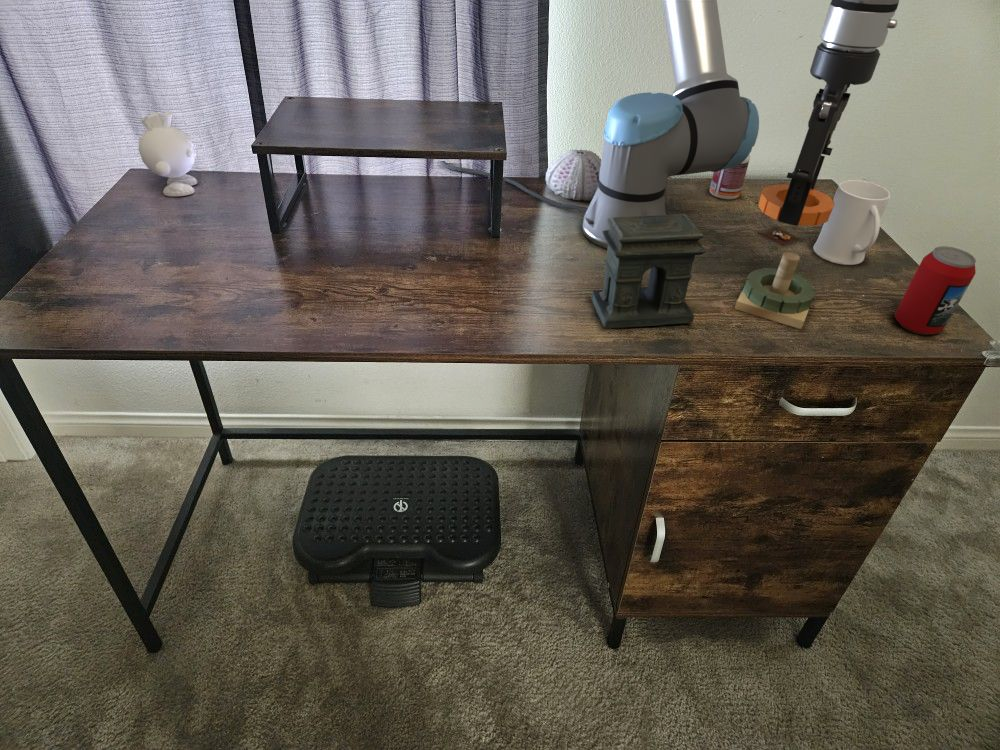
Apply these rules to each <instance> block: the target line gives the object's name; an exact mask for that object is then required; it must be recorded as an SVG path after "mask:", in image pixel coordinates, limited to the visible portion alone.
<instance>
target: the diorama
mask: <svg viewBox="0 0 1000 750" xmlns="http://www.w3.org/2000/svg"><path fill="white" fill-rule="evenodd" d="M761 235H762V236H764V237H766V238H768V239H770V240H772V241H773V242H775V243H777V244H779V245H781V246H786V245H789V244H791V243H794V242H797V241H799V240H800V239H799V238H797V237H795V236H793V235H791V234H789V233H787V232H785V231H784V230H781V227H777V228H775V229H772V230H769V231H766V232H763V233H761Z"/></svg>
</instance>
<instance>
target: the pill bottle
mask: <svg viewBox="0 0 1000 750" xmlns="http://www.w3.org/2000/svg"><path fill="white" fill-rule="evenodd" d="M750 160H751V155H750V154H749V156H748V157H747V158H746V159H745V160H744V161H743V162H742V163H741V164H739V165H738V166H736V167H733V168H729V169H724V170H720V171H718V172H712V178H711V181H710V186H709V193H710V194H711V196H713V197H715V198H717V199H722V200H736V199H737V198H739V197H740V195H741V193H742V190H743V187H744V186H743V185H744V183H745V178H746V175H747V171H748V167H749V163H750Z"/></svg>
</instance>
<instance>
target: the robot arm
mask: <svg viewBox="0 0 1000 750" xmlns="http://www.w3.org/2000/svg"><path fill="white" fill-rule="evenodd" d="M899 4H900V0H831V1H830V3H829V5H828V9H827V12H826V15H825V19H824V22H823V26H822V29H821V32H820V35H819V37H820V39H821V41H822V42H821V43H819V44H818V45H817V47H816V50H815V53H814V56H813V59H812V62H811V65H810V69H809V73H810V75H811V76H812V77H813V78H814V79H817V80H821V81H824V82H825V83H826V84H825V85H824V88H819V90H818V92H816V94H815V97H814V100H813V103H812V107H813V109H812V111H811V114H810V116H809V119H808V121H807V122H808V123H807V127H808V129H807V132H806V135H805V137H804V141H803V143H802V146H801V148H800V152H799V154H798V156H797V159H796V160H797V161H796V162H795V167H794V169H793V171H791V172H789V171H788V172H787V175H786V179H790V182H789V184H790V185H789V188H788V191H787V194H786V197H785V200H784V204H783V207H782V210H781V213H780V216H779V219H778V220H777V222H778V223H781V224H787V225H791V226H795V227H798V226H799V225H798V223H799V220H800V217H801V214H802V212H803V209H804V207H806V206H805V203H806V200H807V197H808V194H809V191H810V189H811V190H813V189H815V186H816V183H817V181H818V178H819V175H820V172H821V169H822V167H823V163H824V161H825V158H826V156H829V157H830V156H831V154H832V151H833V149H834V148H831V147H829V145H831V143H832V140H831V139H832V136H833V134H834V132H835V130H836V128H837V125H838V122H839V121H840V120H841V117H842V115H843V112H844V111H845V110H846V108H847V106H848V102H849V100H850V97H851V93H850V92H848V89H849V88H850V87H851V85H853V86H856V85H857V86H858V85H859V86H860V85H865V84H867V83H869V82H870V81H871V80H872V78H873V76H874V73H875V71H876V68H877V65H878V62H879V59H880V57H881V52H880V50H879V49H878V48H881V47H882V46H883V45H884V44H885V42H886V39H887V36H888V34H889V29H896V27H897V26H898V20H897V19H895V18H894V19H893V17H894V16H895V14H896V11H897V10H898V7H899ZM662 5H663V13H664V20H665V27H666V33H667V41H668V47H669V53H670V60H671V67H672V74H673V81H674V90H673V91H672V93H671V94H669V93H664V92H656V93H655V92H654V93H653V92H649V91H648V92H640V93H638V92H637V93H634V94H630V95H627V96H624V97H622V98H620V99H618V100H617V101H615V102H614V103H613V105H612V106H611V107H610V109H609V111H608V114H607V118H606V119H607V120H606V125H605V127H604V129H603V130H604V131H603V137H604V138H603V146H602V152H601V158H600V159H601V167H600V174H599V182H598V188H597V191H596V193H595V195H594V197H593V199H591V200H590V203H589V205H588V207H585V206H579V205H576V204H569V203H562V202H559V201H555V200H552V199H550V198H548V197H546V196H544V195H542V194H540V193H537V192H536V191H534V190H532V189H530V188H528V187H526V186H525V185H523V184H522V183H521V182H518V181H517V180H514V179H512V178H509V177H507V176H504V180H503V182H506V183H508V184H511V185H513V186H515V187H517V188H518V189H519V190H522V191H523V192H524V193H526V194H528V195H530V196H532V197H534V198H536V199H538V200H539V201H542V202H544V203H546V204H548V205H551V206H553V207H556V208H561V209H566V210H573V211H578V212H582V213H584V216H583V219H582V226H581V231H582V233H583V235H584V237H585V238H586V239H587V240H588V241H590V242H591V243H592V244H595V245H596V246H598V247H601V248H602V249H603V248H604V249H607V250H608V243H607V241H606V240H605V238H604V235H603V233H602V231H605V230H610V225H609V223H608V222H607V220H608V219H609V218H613V217H634V216H657V215H667V210H666V204H665V193H666V190H667V189H666V188H667V184H668V180H669V177H675V176H685V175H694V174H700V173H701V174H702V173H714V172H718V171H720V170H724V169H729V168H733V167H736V166H738V165H739V164H741V163H742V162H743V161H744V160H745V159H746V158H747V157H748V156H749V155H750V154H751V152H752V150H753V148H754V147H755V146H756V142H757V139H758V135H759V130H760V115H759V111H758V108H757V105H756V104H755V103H753V102H752V100H751V99H749V98H748V97H746V96H745V97H744V96H741V95H740V87H739V81H738V80H737V79H736V78H735V77H733V76H732V75H730V74H728V71H727V63H726V57H725V49H724V42H723V36H722V28H721V21H720V14H719V5H718V0H662ZM437 161H438V162H439V163H440V164H441V165H442V166H443V167H444V168H446V169H448V170H452V171H456V172H460V173H467V174H473V175H477V176H478V175H479V176H482V177H487V178H491V177H490V173H491V172H488V171H484V170H478V169H473V168H466V167H460V166H455V165H452V164H449V163H447V162H446V161H445V160H444V161H439V160H438V159H437Z"/></svg>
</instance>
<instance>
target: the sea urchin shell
mask: <svg viewBox="0 0 1000 750" xmlns="http://www.w3.org/2000/svg"><path fill="white" fill-rule="evenodd" d="M601 159H602V158H601V157H600V155H597V153H595V152H594V151H592V150H589V149H570V150H567V151H565V152H563V153H561V154H560V155H558V157H557V158H555V160H553V162H552V163H551V164H550V165H549V167H547V171H546V172H545V182H546V186H547V187H548V189H549V190H551V192H552V191H553V192H554V194H555V195H558V196H559V197H563V199H566V200H569V199H570V200H571V199H572V200H573V201H581V200H584V201H592V199H593V197H594V195H595V193H596V191H597V188H598V182H599V174H600V167H601Z"/></svg>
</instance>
